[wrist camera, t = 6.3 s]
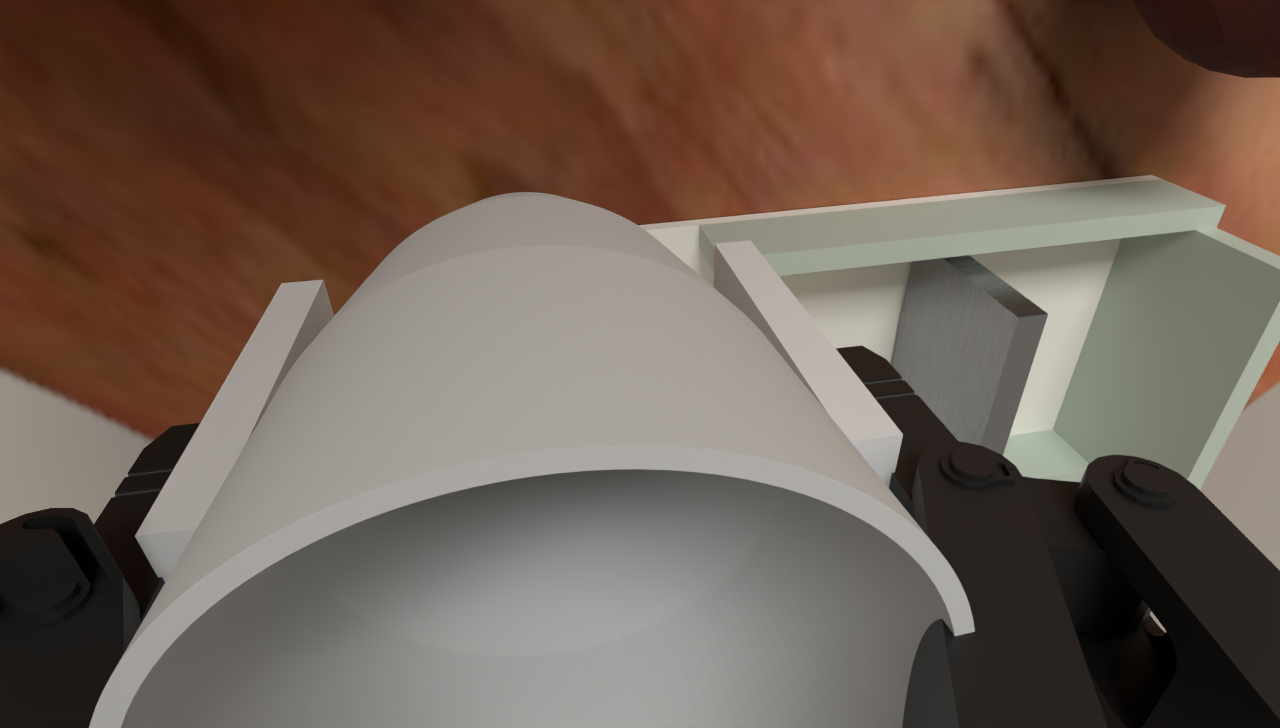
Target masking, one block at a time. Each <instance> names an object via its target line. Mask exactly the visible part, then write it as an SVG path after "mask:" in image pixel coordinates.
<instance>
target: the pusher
mask: <svg viewBox="0 0 1280 728" xmlns="http://www.w3.org/2000/svg"><path fill="white" fill-rule="evenodd" d="M1047 317H1048V313H1046V312H1045V311H1044V310H1042V309H1041V308H1040V307H1038V306H1037V305H1036V304H1034V303H1033V302H1032V301H1030V300H1029V299H1028V298H1026V297H1025V296H1024V295H1022V294H1021V293H1019V292H1018V291H1017V290H1015V289H1014V288H1013V287H1011V286H1010V285H1009V284H1007V283H1006V282H1005V281H1003V280H1002V279H1001V278H999V277H998V276H997V275H995V274H994V273H993V272H991V271H990V270H988V269H987V268H986V267H984V266H983V265H982V264H980V263H979V262H978V261H976V260H975V259H974V258H972V257H971V256H970V255H965V256H956V257H947V258H938V259H929V260H920V261H912V264H911V270H910V275H909V280H908V285H907V290H906V296H905V301H904V306H903V311H902V316H901V322H900V327H899V332H898V337H897V342H896V348H895V353H894V358H893V363H892V366H893V367H894V368H895V370H896V371H897V372H898V373H899V374H900V375H901V376H902V381H903V380H905V381H906V382H907V383H908V384H909V386H910V387H911V388H912V389H913V390H914V394H915V395H918V396H919V397H920V398H921V399H922V400H923V401H924V403H925V404H926V405H927V406H928V407H929V408H930V409H931V411H932V412H933V413H934V414H935V415H936V416H937V417H938V418H939V420H940V421H941V422H942V423H943V424H944V425H945V426H946V428H947V429H948V430H949V431H950V432H951V433H952V434H953V435H954V437H955V438H956V439H957V440H958V441H959V442H967V443H971V444H976V445H980V446H984V447H986V448H988V449H990V450H993V451H995V452H997V453H999V454H1001V455H1003V454H1004V451H1005V447H1006V444H1007V441H1008V438H1009V435H1010V432H1011V429H1012V426H1013V423H1014V419H1015V416H1016V413H1017V410H1018V407H1019V404H1020V401H1021V398H1022V395H1023V391H1024V388H1025V385H1026V382H1027V379H1028V376H1029V373H1030V370H1031V366H1032V363H1033V360H1034V357H1035V354H1036V351H1037V348H1038V345H1039V342H1040V338H1041V335H1042V332H1043V329H1044V326H1045V323H1046V320H1047Z"/></svg>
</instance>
